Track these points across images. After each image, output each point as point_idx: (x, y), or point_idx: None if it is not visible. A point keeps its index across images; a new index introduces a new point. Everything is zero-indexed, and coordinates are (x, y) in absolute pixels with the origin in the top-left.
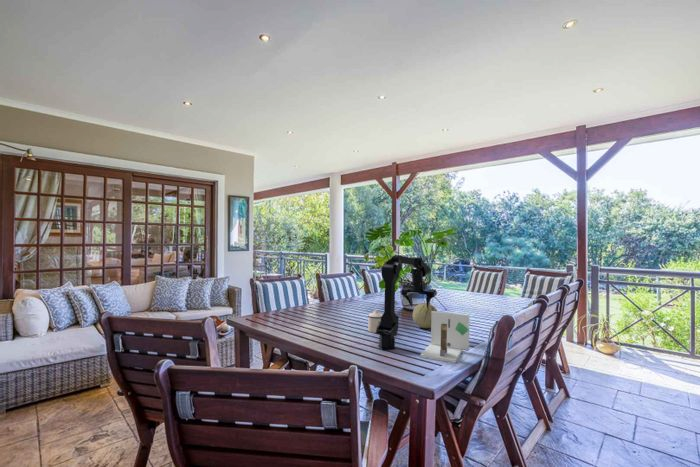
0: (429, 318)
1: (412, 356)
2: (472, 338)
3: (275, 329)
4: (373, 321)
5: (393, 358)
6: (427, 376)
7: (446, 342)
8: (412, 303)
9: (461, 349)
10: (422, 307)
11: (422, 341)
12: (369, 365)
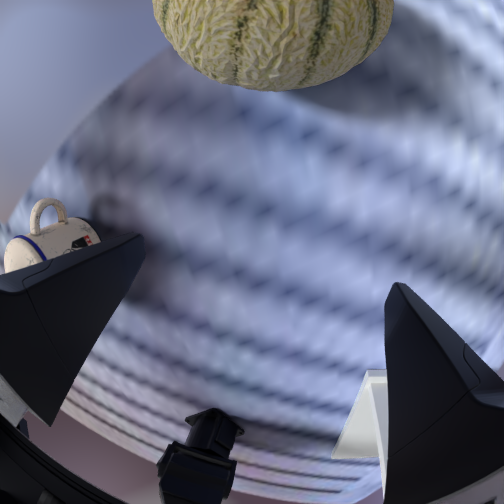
0: (341, 72)
1: (309, 454)
2: None
3: None
4: None
5: (264, 467)
6: (346, 492)
7: None
8: (120, 251)
9: None
10: (245, 5)
11: (327, 331)
12: (233, 486)
